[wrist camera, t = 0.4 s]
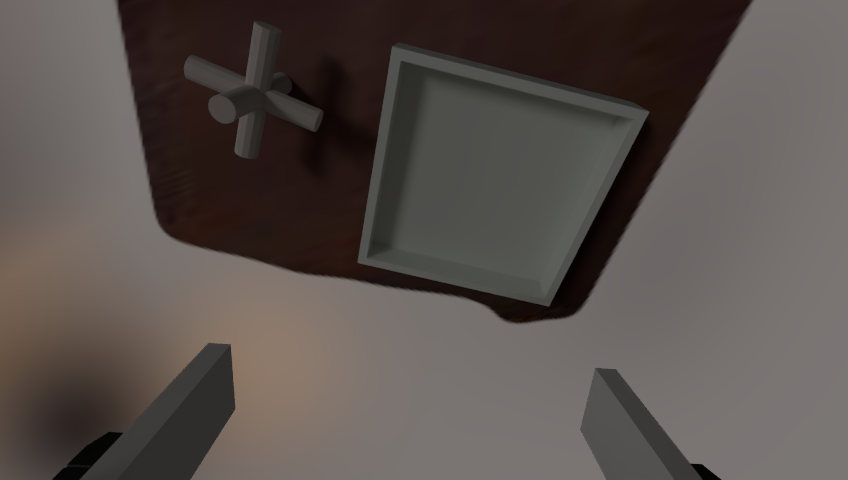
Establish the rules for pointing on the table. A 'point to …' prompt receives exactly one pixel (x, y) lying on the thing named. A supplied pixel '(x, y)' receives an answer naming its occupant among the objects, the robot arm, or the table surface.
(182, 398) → the robot arm
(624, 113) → the tray
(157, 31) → the table surface
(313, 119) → the pipe connector
